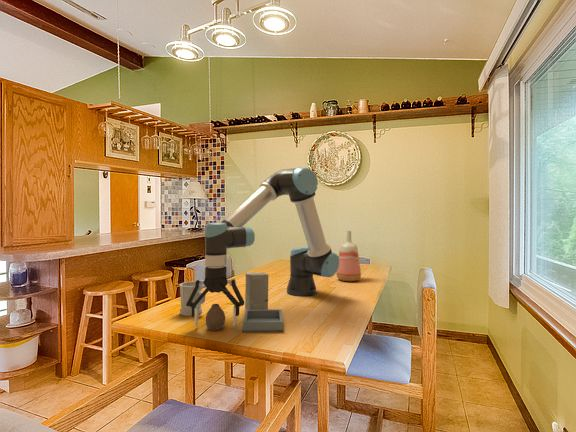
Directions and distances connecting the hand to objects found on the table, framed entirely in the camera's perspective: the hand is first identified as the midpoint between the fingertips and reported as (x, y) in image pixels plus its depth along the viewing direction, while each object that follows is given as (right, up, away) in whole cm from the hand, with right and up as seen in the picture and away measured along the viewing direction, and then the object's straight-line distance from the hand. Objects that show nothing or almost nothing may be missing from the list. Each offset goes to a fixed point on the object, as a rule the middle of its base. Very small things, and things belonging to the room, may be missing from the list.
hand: (215, 325), depth 119 cm
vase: (0, -2, 0) cm, 2 cm away
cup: (-13, -1, +17) cm, 22 cm away
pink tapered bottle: (+62, 0, +80) cm, 102 cm away
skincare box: (+13, -1, +21) cm, 24 cm away
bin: (+17, -1, +4) cm, 17 cm away
